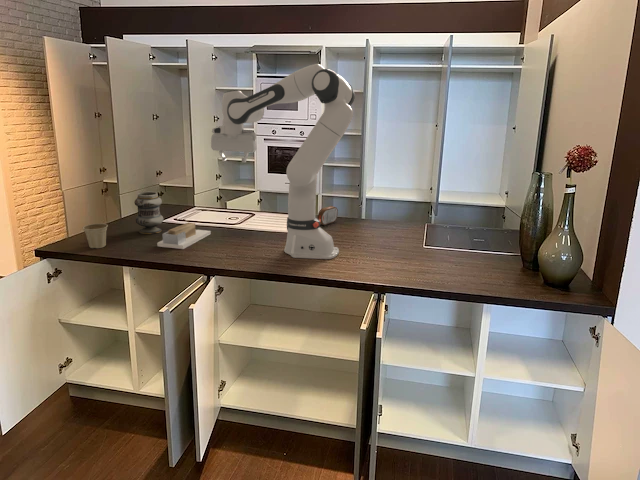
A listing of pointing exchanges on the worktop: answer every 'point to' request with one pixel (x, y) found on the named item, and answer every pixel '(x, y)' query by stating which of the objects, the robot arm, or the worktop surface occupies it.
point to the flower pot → (96, 235)
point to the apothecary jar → (149, 212)
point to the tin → (327, 215)
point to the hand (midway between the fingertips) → (234, 161)
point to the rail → (184, 229)
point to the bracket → (181, 239)
